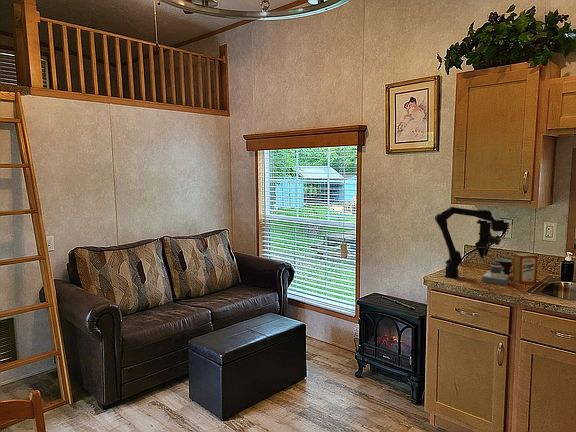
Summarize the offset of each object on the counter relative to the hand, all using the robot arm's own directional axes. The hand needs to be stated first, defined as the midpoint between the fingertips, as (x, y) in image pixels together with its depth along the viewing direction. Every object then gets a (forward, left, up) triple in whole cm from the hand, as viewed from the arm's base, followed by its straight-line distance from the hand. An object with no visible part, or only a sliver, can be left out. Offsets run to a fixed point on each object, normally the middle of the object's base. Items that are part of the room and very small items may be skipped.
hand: (484, 257), depth 244 cm
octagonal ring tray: (+8, -7, -12) cm, 16 cm away
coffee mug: (+10, +9, -13) cm, 19 cm away
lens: (+8, -7, -8) cm, 14 cm away
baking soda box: (+21, +4, -13) cm, 25 cm away
